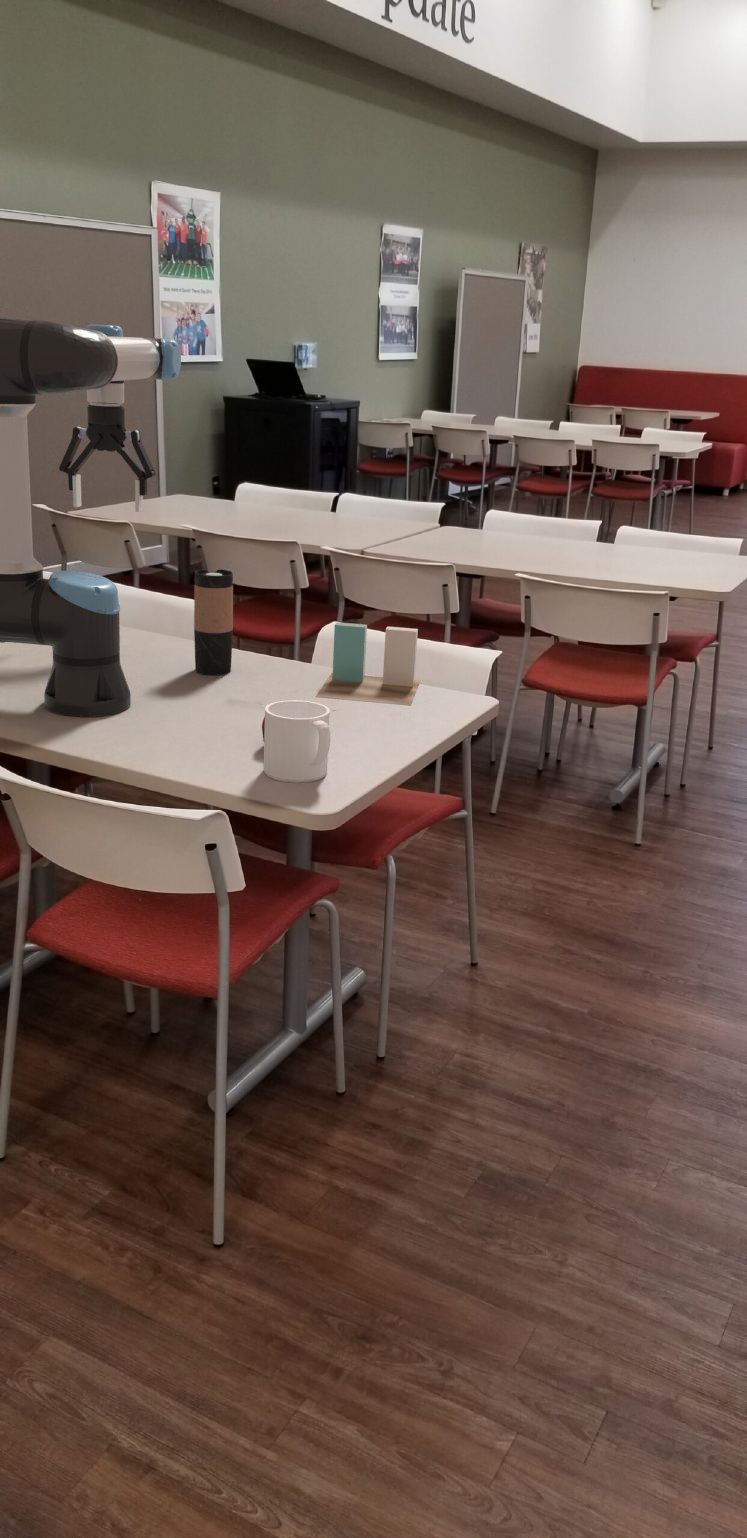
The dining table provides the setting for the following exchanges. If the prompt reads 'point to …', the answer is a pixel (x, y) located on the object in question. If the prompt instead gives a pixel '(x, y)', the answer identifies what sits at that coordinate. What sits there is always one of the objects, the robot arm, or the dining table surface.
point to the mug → (296, 741)
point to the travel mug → (213, 621)
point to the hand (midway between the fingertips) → (108, 508)
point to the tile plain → (400, 656)
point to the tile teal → (349, 652)
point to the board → (368, 691)
